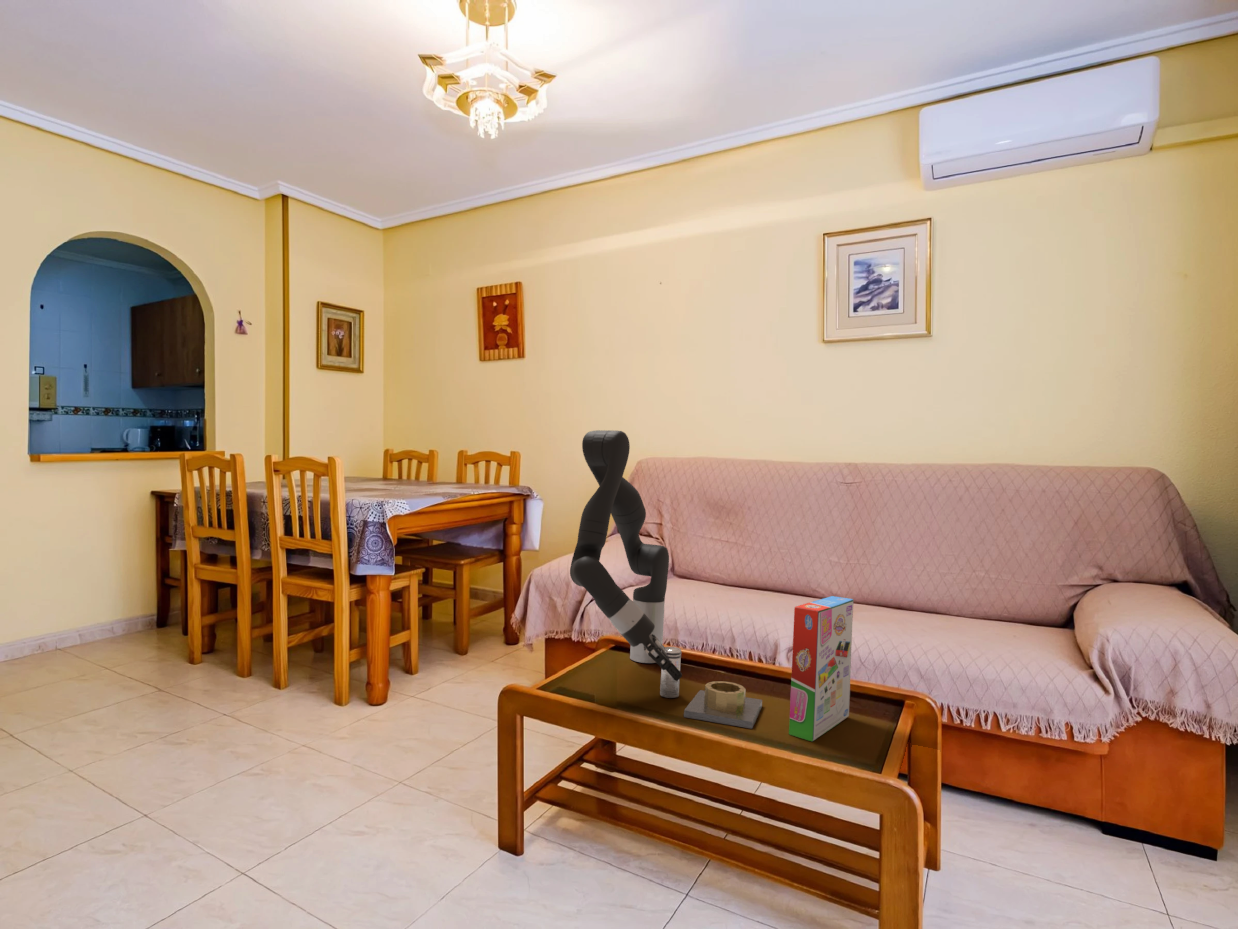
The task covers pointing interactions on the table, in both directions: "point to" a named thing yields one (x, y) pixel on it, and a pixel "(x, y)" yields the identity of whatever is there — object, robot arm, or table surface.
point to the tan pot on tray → (724, 705)
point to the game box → (820, 666)
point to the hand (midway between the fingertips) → (678, 674)
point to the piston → (668, 684)
